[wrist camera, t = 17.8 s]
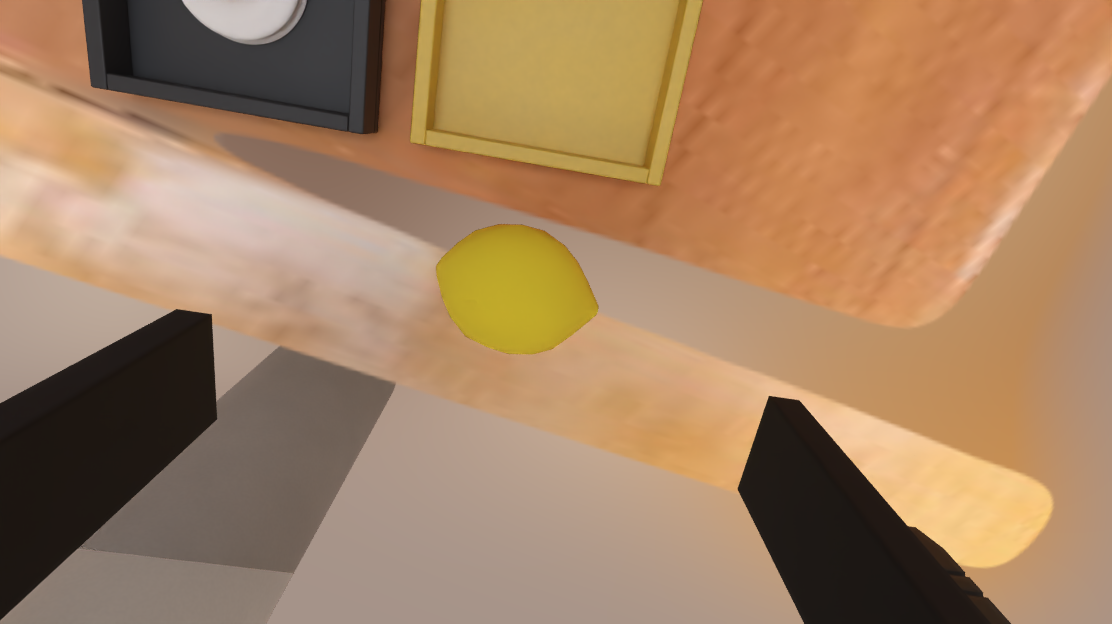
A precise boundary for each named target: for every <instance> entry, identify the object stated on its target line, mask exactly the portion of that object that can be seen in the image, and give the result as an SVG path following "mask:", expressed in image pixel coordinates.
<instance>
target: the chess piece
mask: <svg viewBox="0 0 1112 624" xmlns="http://www.w3.org/2000/svg"><path fill="white" fill-rule="evenodd" d="M182 1H183V3H184V4H185V6H186V7H187V8H188V10H189V11H190V12H191V13H192V14H193V15H194V16H195V17H196V18H197V19H198V20H199V21H200V22H201V23H202V24H204V25H205V26H206V27H208V28H209V29H211V30H212V31H214V32H216V33H218V34H220V35H222V36H223V37H225V38H228V39H230V40H232V41H235V42H239V43H243V44H250V45H259V44H266V43H270V42H273V41H276V40H278V39H280V38H282V37H283V36H285V35H286V34H287V33H289V32H290V31H291V30H292V29H293V28H294V27H295V25H296V24H297V23H298V21H299V20H300V18H301V16H302V14H303V12H304V9H305V6H306V3H307V0H182Z"/></svg>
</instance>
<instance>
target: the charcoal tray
mask: <svg viewBox="0 0 1112 624" xmlns="http://www.w3.org/2000/svg"><path fill="white" fill-rule="evenodd" d="M82 4H83V13H84V23H85V32H86V42H87V51H88V61H89V70H90V80H91V86H92V87H94V88H100V89H106V90H112V91H117V92H123V93H129V94H135V95H140V96H146V97H152V98H158V99H163V100H169V101H175V102H180V103H186V104H192V105H198V106H203V107H209V108H215V109H221V110H226V111H232V112H238V113H243V114H249V115H255V116H261V117H266V118H272V119H278V120H283V121H289V122H295V123H301V124H306V125H312V126H318V127H324V128H329V129H335V130H341V131H349V132H352V133H358V134H368V133H377V131H378V115H379V98H380V80H381V63H382V46H383V29H384V12H385V0H307V3H306V6H305V9H304V12H303V14H302V16H301V18H300V20H299V21H298V23H297V24H296V25H295V27H294V28H293V29H292V30H291V31H290V32H289V33H287V34H286V35H285V36H283V37H282V38H280V39H278V40H276V41H273V42H270V43H266V44H259V45H250V44H243V43H239V42H235V41H232V40H230V39H228V38H225V37H223V36H222V35H220V34H218V33H216V32H214V31H212V30H211V29H209V28H208V27H206V26H205V25H204V24H202V23H201V22H200V21H199V20H198V19H197V18H196V17H195V16H194V15H193V14H192V13H191V12H190V11H189V10H188V8H187V7H186V6H185V4H184V3H183V1H182V0H82Z"/></svg>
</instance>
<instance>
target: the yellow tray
mask: <svg viewBox="0 0 1112 624" xmlns="http://www.w3.org/2000/svg"><path fill="white" fill-rule="evenodd" d="M702 3H703V0H421V6H420V19H419V31H418V44H417V57H416V70H415V83H414V95H413V108H412V121H411V134H410V142H411V143H415V144H421V145H426V146H432V147H438V148H444V149H449V150H455V151H461V152H467V153H472V154H478V155H484V156H489V157H495V158H501V159H507V160H512V161H518V162H524V163H530V164H535V165H541V166H547V167H552V168H558V169H564V170H570V171H575V172H581V173H587V174H592V175H598V176H604V177H610V178H615V179H621V180H627V181H633V182H638V183H644V184H645V183H647V184H650V185H656V186H660V185H661V181H662V177H663V172H664V168H665V164H666V159H667V155H668V151H669V146H670V142H671V138H672V133H673V129H674V125H675V120H676V116H677V112H678V107H679V103H680V99H681V94H682V90H683V86H684V81H685V77H686V73H687V68H688V64H689V60H690V55H691V51H692V47H693V42H694V38H695V34H696V29H697V25H698V21H699V16H700V12H701V8H702Z"/></svg>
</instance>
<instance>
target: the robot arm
mask: <svg viewBox="0 0 1112 624" xmlns="http://www.w3.org/2000/svg"><path fill="white" fill-rule="evenodd" d="M216 420H217V409H216V390H215V371H214V352H213V332H212V314H206V313H199V312H192V311H185V310H178V309H176V310H174V311H172V312H171V313H169V314H167V315H165V316H163V317H161V318H159V319H157V320H156V321H154V322H152V323H150V324H148V325H146V326H144V327H142V328H141V329H139V330H137V331H135V332H133V333H131V334H129V335H128V336H126V337H124V338H122V339H120V340H118V341H116V342H114V343H112V344H111V345H109V346H107V347H105V348H103V349H101V350H99V351H97V352H96V353H94V354H92V355H90V356H88V357H86V358H84V359H82V360H81V361H79V362H77V363H75V364H74V365H71V366H69V367H67V368H66V369H64V370H62V371H60V372H58V373H56V374H54V375H52V376H51V377H49V378H47V379H45V380H43V381H41V382H39V383H37V384H36V385H34V386H32V387H30V388H28V389H26V390H24V391H23V392H21V393H19V394H17V395H15V396H13V397H11V398H9V399H8V400H6V401H4V402H2V403H0V620H1V619H2V618H4V617H5V616H6V615H7V614H8V613H9V612H10V611H11V610H12V609H13V608H14V607H15V606H16V605H18V604H19V603H20V602H21V601H22V600H23V599H24V598H25V597H26V596H27V595H28V594H29V593H30V592H32V591H33V590H34V589H35V588H36V587H37V586H38V585H39V584H40V583H41V582H42V581H43V580H44V579H46V578H47V577H48V576H49V575H50V574H51V573H52V572H53V571H54V570H55V569H56V568H57V567H58V566H60V565H61V564H62V563H63V562H64V561H65V560H66V559H67V558H68V557H69V556H70V555H71V554H72V553H74V552H75V551H76V550H77V549H78V548H79V547H80V546H81V545H82V544H83V543H84V542H85V541H86V540H88V539H89V538H90V537H91V536H92V535H93V534H94V533H95V532H96V531H97V530H98V529H99V528H100V527H102V526H103V525H104V524H105V523H106V522H107V521H108V520H109V519H110V518H111V517H112V516H113V515H114V514H116V513H117V512H118V511H119V510H120V509H121V508H122V507H123V506H124V505H125V504H126V503H127V502H128V501H130V500H131V499H132V498H133V497H134V496H135V495H136V494H137V493H138V492H139V491H140V490H141V489H142V488H144V487H145V486H146V485H147V484H148V483H149V482H150V481H151V480H152V479H153V478H154V477H155V476H156V475H158V474H159V473H160V472H161V471H162V470H163V469H164V468H165V467H166V466H167V465H168V464H169V463H170V462H172V461H173V460H174V459H175V458H176V457H177V456H178V455H179V454H180V453H181V452H182V451H183V450H184V449H186V448H187V447H188V446H189V445H190V444H191V443H192V442H193V441H194V440H195V439H196V438H197V437H198V436H200V435H201V434H202V433H203V432H204V431H205V430H206V429H207V428H208V427H209V426H210V425H211V424H212V423H214V422H215V421H216ZM738 491H739V493H740V495H741V497H742V499H743V501H744V503H745V505H746V507H747V509H748V511H749V513H750V515H751V517H752V519H753V521H754V523H755V525H756V527H757V529H758V531H759V533H760V535H761V537H762V539H763V541H764V543H765V545H766V547H767V549H768V551H769V553H770V555H771V557H772V559H773V562H774V563H775V565H776V568H777V570H778V572H779V573H780V576H781V578H782V580H783V582H784V584H785V586H786V588H787V590H788V592H789V594H790V596H791V598H792V600H793V602H794V603H795V606H796V608H797V610H798V612H799V614H800V616H801V618H802V620H803V622H804V624H1011V623H1010V622H1009V621H1008V620H1007V619H1006V618H1005V616H1004V615H1003V614H1002V613H1001V612H1000V611H999V610H998V609H997V607H996V606H995V605H994V604H993V603H992V602H991V601H990V600H989V599H988V598H986V597H983V592H982V591H981V590H980V589H979V587H978V586H976V584H975V583H974V582H973V581H972V580H971V579H970V578H969V577H965V572H964V571H963V570H962V569H961V567H960V566H959V565H958V564H957V563H956V562H955V561H954V560H953V559H952V557H951V556H950V555H949V554H948V553H947V552H946V551H945V550H944V549H943V548H942V547H941V546H939V545H938V544H937V543H935V542H934V541H933V540H931V539H930V538H929V537H928V536H926V535H925V534H924V533H922V532H921V531H920V530H918V529H917V528H916V527H909V526H907V525H906V524H905V523H904V521H903V520H902V519H901V518H900V517H899V516H898V515H897V513H896V512H895V511H894V510H893V509H892V508H891V506H890V505H889V504H888V503H887V502H886V501H885V499H884V498H883V497H882V496H881V495H880V494H879V492H878V491H877V490H876V489H875V488H874V487H873V485H872V484H871V483H870V482H869V481H868V480H867V478H866V477H865V476H864V475H863V474H862V473H861V472H860V470H859V469H858V468H857V467H856V466H855V465H854V463H853V462H852V461H851V460H850V459H849V458H848V456H847V455H846V454H845V453H844V452H843V451H842V449H841V448H840V447H839V446H838V445H837V444H836V442H835V441H834V440H833V439H832V438H831V437H830V435H829V434H828V433H827V432H826V431H825V430H824V428H823V427H822V426H821V425H820V424H819V423H818V422H817V420H816V419H815V418H814V417H813V416H812V415H811V413H810V412H809V411H808V410H807V409H806V408H805V406H804V405H803V404H802V403H801V402H800V401H799V400H793V399H786V398H780V397H773V396H769V398H768V401H767V404H766V406H765V409H764V412H763V415H762V418H761V421H760V424H759V427H758V430H757V433H756V436H755V439H754V442H753V445H752V448H751V451H750V454H749V457H748V460H747V463H746V466H745V469H744V472H743V475H742V478H741V481H740V484H739V486H738Z"/></svg>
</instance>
